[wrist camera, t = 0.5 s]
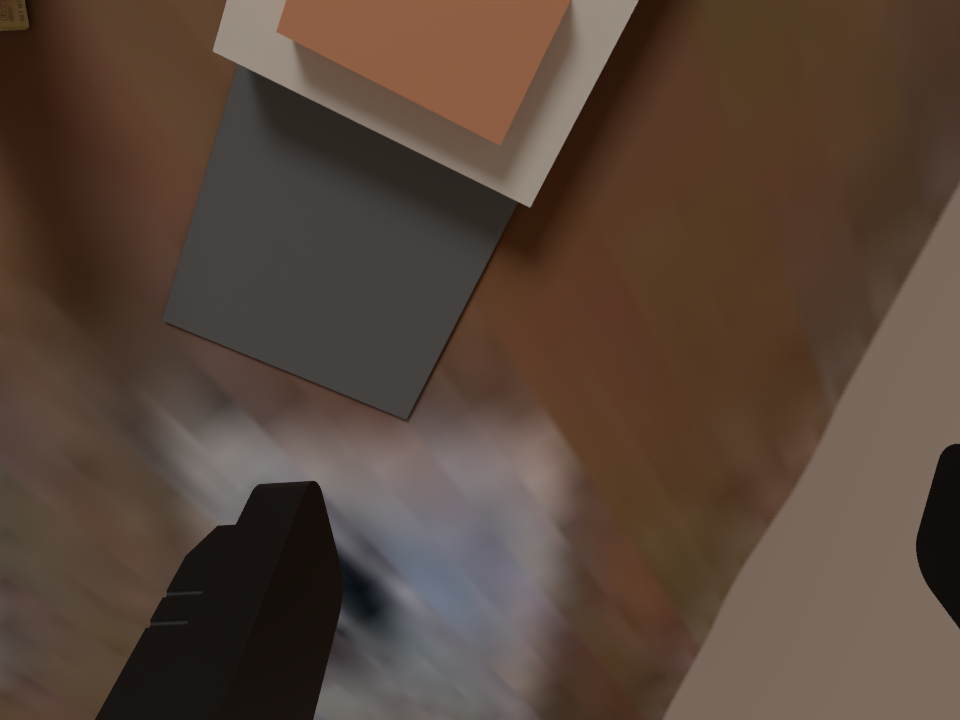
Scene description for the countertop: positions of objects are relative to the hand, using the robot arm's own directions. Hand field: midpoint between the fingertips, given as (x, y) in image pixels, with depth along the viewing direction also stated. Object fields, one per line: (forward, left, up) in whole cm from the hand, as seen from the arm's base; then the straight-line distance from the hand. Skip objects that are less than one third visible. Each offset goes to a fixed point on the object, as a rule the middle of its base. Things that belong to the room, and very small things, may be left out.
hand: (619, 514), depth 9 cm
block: (-4, -6, -22) cm, 23 cm away
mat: (+9, -6, -26) cm, 28 cm away
